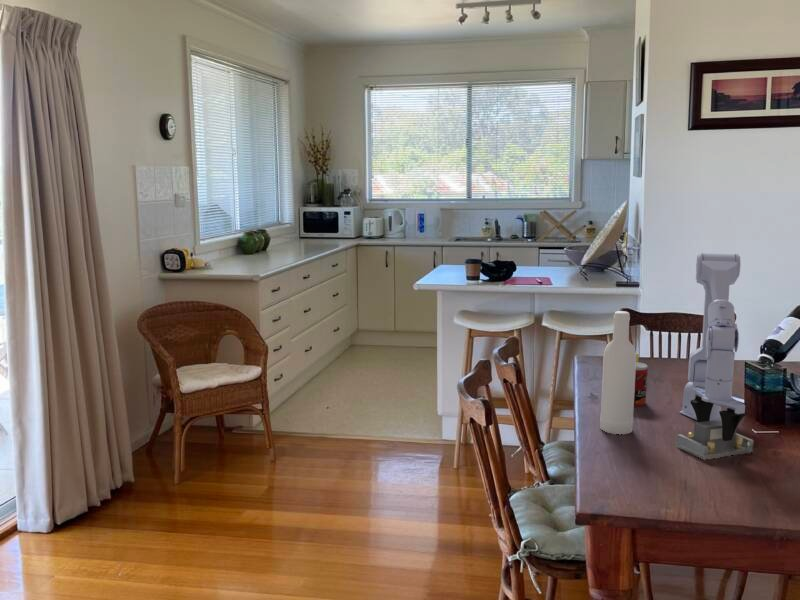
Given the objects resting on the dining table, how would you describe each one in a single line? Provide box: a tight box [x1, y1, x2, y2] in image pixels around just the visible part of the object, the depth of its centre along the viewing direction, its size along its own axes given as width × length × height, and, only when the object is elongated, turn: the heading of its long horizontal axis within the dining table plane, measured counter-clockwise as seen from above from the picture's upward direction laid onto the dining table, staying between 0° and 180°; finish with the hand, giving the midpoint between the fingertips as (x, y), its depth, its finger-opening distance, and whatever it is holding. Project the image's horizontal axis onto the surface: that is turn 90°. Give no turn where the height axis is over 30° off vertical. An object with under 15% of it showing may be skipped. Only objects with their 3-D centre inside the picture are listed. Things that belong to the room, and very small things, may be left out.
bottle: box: [599, 310, 637, 436], centre depth 188 cm, size 8×8×30 cm
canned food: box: [634, 361, 649, 407], centre depth 212 cm, size 8×8×11 cm
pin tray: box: [675, 431, 754, 461], centre depth 176 cm, size 9×14×4 cm, turn 110°
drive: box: [693, 419, 737, 449], centre depth 176 cm, size 4×9×6 cm, turn 110°
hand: (715, 434), depth 176 cm, fingers open, 7 cm apart
